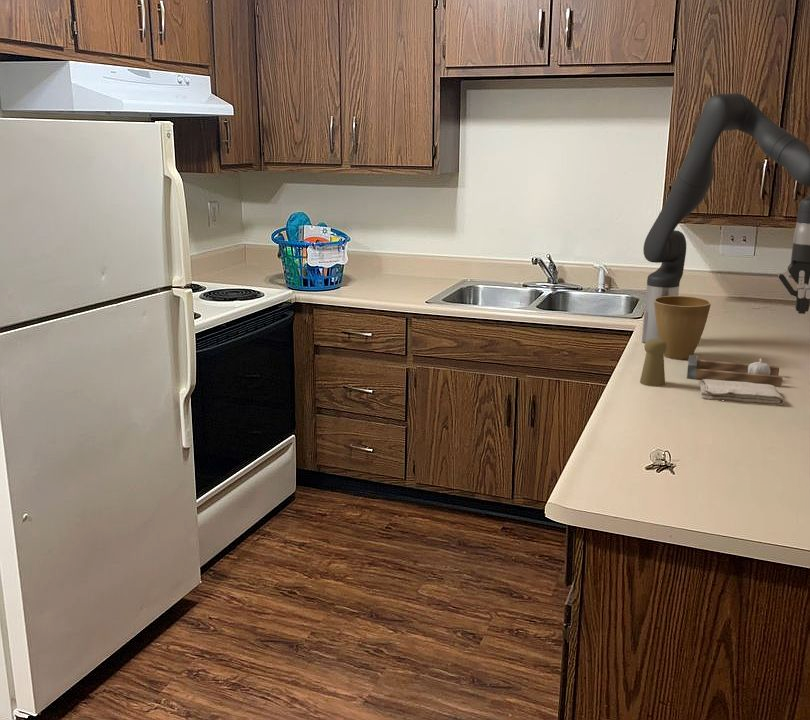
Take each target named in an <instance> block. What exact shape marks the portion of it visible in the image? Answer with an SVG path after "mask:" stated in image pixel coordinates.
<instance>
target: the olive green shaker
mask: <svg viewBox="0 0 810 720" xmlns="http://www.w3.org/2000/svg"><path fill="white" fill-rule="evenodd" d="M666 348H667V345H666V343H665V342H664V341H663V340H659V339H650V340H647V341H646V343H645V342H644V351H645V352H646V353H645V358H644V361H643V365H642V372H641V374H640V375H641V376H640V380H639V383H640V384H641V385H644V386H647V387H664V386H665V385H666V375H665V356H664V353H665V351H666Z"/></svg>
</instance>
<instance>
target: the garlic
mask: <svg viewBox="0 0 810 720" xmlns="http://www.w3.org/2000/svg"><path fill="white" fill-rule="evenodd" d="M758 360H759V361H755V362H751V363H749V364H750V365H749V366H748V373H754V374H765V375H770V367H769V366H770V365H769V364H768V363H765V362H763V359H762V358H759V359H758Z"/></svg>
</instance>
